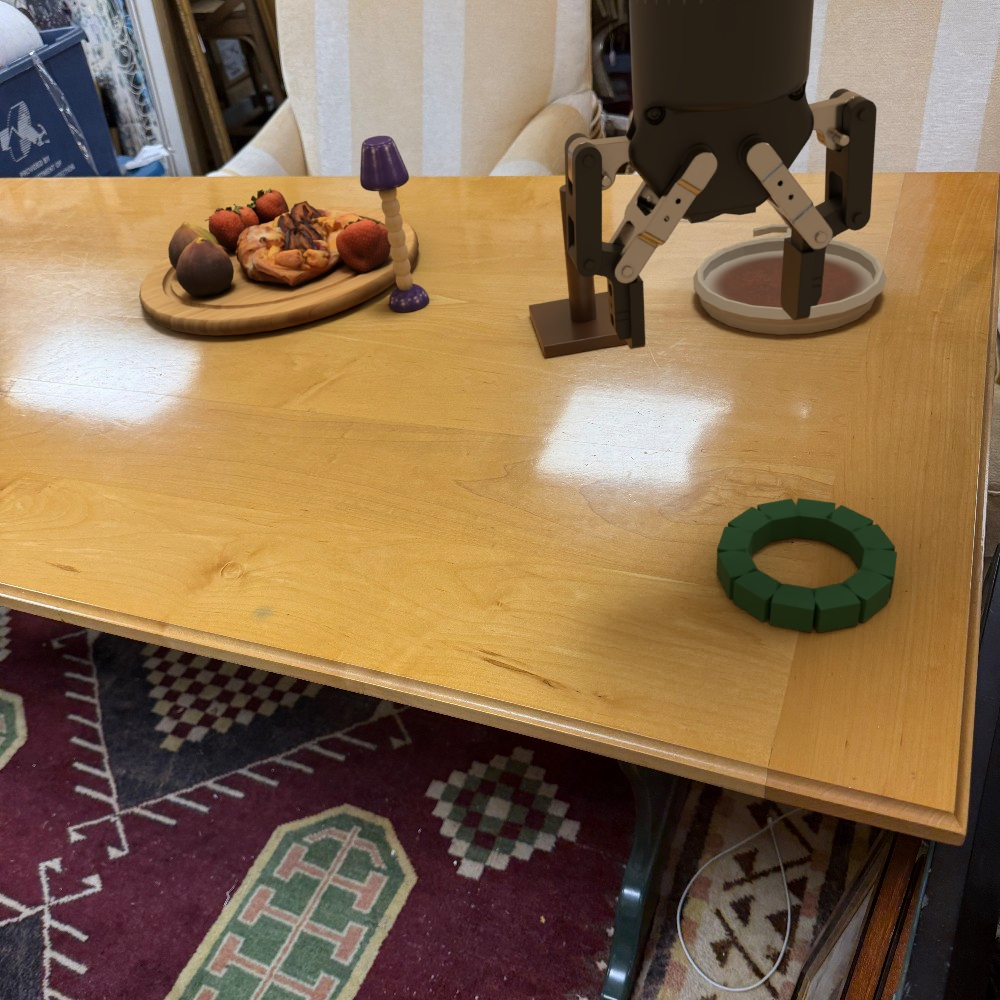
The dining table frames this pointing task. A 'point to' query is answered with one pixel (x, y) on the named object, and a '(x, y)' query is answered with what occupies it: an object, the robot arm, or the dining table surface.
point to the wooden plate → (270, 267)
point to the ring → (796, 602)
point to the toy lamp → (392, 215)
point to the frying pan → (757, 285)
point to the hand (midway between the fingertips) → (714, 327)
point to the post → (574, 312)
